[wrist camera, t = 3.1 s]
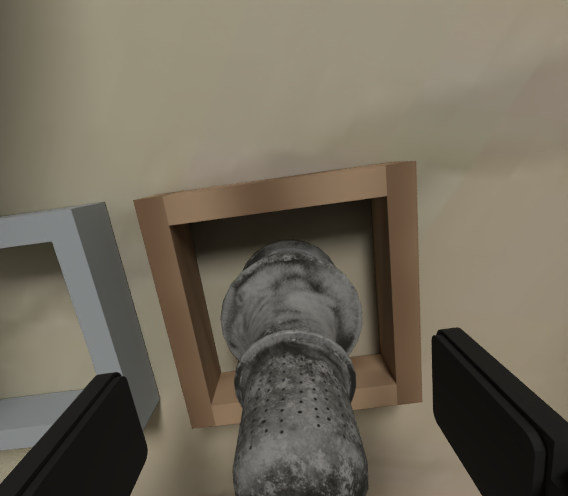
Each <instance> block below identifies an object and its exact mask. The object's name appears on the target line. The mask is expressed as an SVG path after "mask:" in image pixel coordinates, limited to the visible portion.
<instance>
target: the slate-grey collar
mask: <svg viewBox="0 0 568 496" xmlns="http://www.w3.org/2000/svg"><path fill="white" fill-rule="evenodd" d="M51 241H52V243H53V246H54V249H55V252H56V255H57V258H58V261H59V264H60V267H61V270H62V273H63V276H64V279H65V282H66V285H67V288H68V291H69V294H70V297H71V300H72V303H73V306H74V309H75V312H76V315H77V317H78V320H79V323H80V326H81V329H82V332H83V335H84V338H85V341H86V344H87V347H88V350H89V353H90V356H91V359H92V362H93V365H94V368H95V371H96V374H97V375H99V374H105V373H113V372H119V373H120V374H121V375H122V376H125V377H126V378H127V380H128V384H129V387H130V390H131V394H132V397H133V400H134V404H135V407H136V410H137V414H138V417H139V421H140V424H141V427H142V431H143V430H144V428H145V426H146V424H147V422H148V420H149V418H150V417H151V415H152V413H153V411H154V409H155V407H156V405H157V403H158V401H159V399H160V397H159V393H158V390H157V386H156V382H155V379H154V375H153V372H152V368H151V365H150V361H149V358H148V354H147V351H146V347H145V344H144V340H143V336H142V333H141V329H140V326H139V322H138V319H137V315H136V312H135V308H134V305H133V301H132V298H131V294H130V290H129V287H128V283H127V280H126V276H125V273H124V269H123V266H122V262H121V259H120V255H119V252H118V248H117V244H116V241H115V237H114V234H113V230H112V227H111V223H110V220H109V216H108V213H107V209H106V206H105V202H101V203H93V204H86V205H79V206H72V207H64V208H57V209H50V210H43V211H36V212H28V213H21V214H14V215H7V216H0V248H7V247H14V246H22V245H29V244H36V243H44V242H51ZM83 390H84V389H82V390H74V391H66V392H57V393H49V394H41V395H32V396H24V397H16V398H7V399H0V451H1V450H10V449H19V448H27V447H33V446H34V445H35V444H36V443H37V442H38V441H39V440H40V438H41V437H42V436H43V435H44V434H45V433H46V432H47V431H48V429H49V428H50V427H51V426H52V425H53V424H54V423H55V421H56V420H57V419H58V418H59V417H60V416H61V415H62V414H63V412H64V411H65V410H66V409H67V408H68V407H69V406H70V404H71V403H72V402H73V401H74V400H75V399H76V398H77V396H78V395H79V394H80V393H81V392H82V391H83Z"/></svg>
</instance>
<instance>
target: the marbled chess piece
mask: <svg viewBox="0 0 568 496" xmlns="http://www.w3.org/2000/svg"><path fill="white" fill-rule="evenodd" d="M221 325H222V332H223V336H224V338H225V341H226V343H227V345H228V347H229V350H230V351H231V352H232V353H233V355H234V356H235V357H236V358H237V359H238V361H239V363H238V365H237V367H236V373H235V378H234V387H235V394H236V397H237V399H238V401H239V403H240V405H241V407H242V415H241V422H240V428H239V434H238V440H237V446H236V452H235V458H234V464H233V482H234V489H235V496H366V494H367V491H368V464H367V458H366V455H365V451H364V448H363V444H362V441H361V437H360V434H359V430H358V427H357V423H356V420H355V416H354V413H353V409H352V406H351V402H352V400H353V397H354V394H355V390H356V372H355V370H354V367H353V364H352V361H351V359H350V357H349V355H350V353H351V351H352V350H353V348H354V346H355V345H356V343H357V342H358V338H359V335H360V331H361V328H362V307H361V303H360V300H359V297H358V294H357V291H356V290H355V288H354V287H353V285H352V284H351V282H350V281H349V279H348V278H347V276H346V275H345V274H343V273H342V272H341V271H340V270H339V269H337V268H336V267H335V265H334V264H333V262H332V261H331V259H330V258H329V256H328V255H326V254H325V253H324V252H323V251H322V250H320V249H319V248H318V247H316V246H313V245H311V244H309V243H307V242H303V241H297V240H283V241H277V242H274V243H271V244H268V245H266V246H264V247H263V248H261V249H260V250H258V251H257V252H255V253H254V255H253V256H252V257H251V258H250V259H249V260H248V261H247V263H246V265H245V267H244V269H243V271H242V272H241V274H240V275H239V276H238V277H237V278H236V279H235V280H234V282H233V283H232V284H231V285H230V288H229V290H228V292H227V294H226V296H225V298H224V300H223V305H222V312H221Z"/></svg>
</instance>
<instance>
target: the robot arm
mask: <svg viewBox="0 0 568 496" xmlns="http://www.w3.org/2000/svg"><path fill="white" fill-rule="evenodd" d="M432 382H433V413H434V417H435V420H436V422H437V424H438V426H439V427H440V429H441V430H442V432H443V434H444V435H445V437H446V438H447V440H448V442H449V443H450V445H451V446H452V448H453V450H454V451H455V453H456V454H457V456H458V458H459V459H460V461H461V462H462V464H463V466H464V467H465V469H466V470H467V472H468V474H469V475H470V477H471V478H472V480H473V482H474V483H475V485H476V486H477V488H478V490H479V491H480V493H481V494H482V496H568V422H567V421H566V420H565V419H563V418H562V417H561V416H560V415H559V414H558V413H557V412H555V411H554V410H553V409H552V408H551V407H550V406H549V405H547V404H546V403H545V402H544V401H543V400H542V399H541V398H539V397H538V396H537V395H536V394H535V393H534V392H533V391H531V390H530V389H529V388H528V387H527V386H526V385H525V384H523V383H522V382H521V381H520V380H519V379H518V378H517V377H515V376H514V375H513V374H512V373H511V372H510V371H509V370H507V369H506V368H505V367H504V366H503V365H502V364H501V363H499V362H498V361H497V360H496V359H495V358H494V357H493V356H491V355H490V354H489V353H488V352H487V351H486V350H485V349H483V348H482V347H481V346H480V345H479V344H478V343H477V342H475V341H474V340H473V339H472V338H471V337H470V336H469V335H467V334H466V333H465V332H464V331H463V330H462V329H460V328H449V329H441V330H438V331H437V335H434V336H432ZM147 452H148V449H147V444H146V441H145V437H144V434H143V431H142V427H141V424H140V421H139V417H138V414H137V410H136V407H135V404H134V400H133V397H132V394H131V390H130V387H129V384H128V380H127V378H126V377H125V376H122V375H121V374H120V373H119V372H113V373H105V374H99V375H97V376H95V377H94V378H93V379H92V381H91V382H90V383H89V384H88V385H87V386H86V387H85V389H84V390H83V391H82V392H81V393H80V394H79V395H78V396H77V398H76V399H75V400H74V401H73V402H72V403H71V404H70V406H69V407H68V408H67V409H66V410H65V411H64V412H63V414H62V415H61V416H60V417H59V418H58V419H57V420H56V421H55V423H54V424H53V425H52V426H51V427H50V428H49V429H48V431H47V432H46V433H45V434H44V435H43V436H42V437H41V438H40V440H39V441H38V442H37V443H36V444H35V445H34V446H33V448H32V449H31V450H30V451H29V452H28V453H27V454H26V456H25V457H24V458H23V459H22V460H21V461H20V462H19V463H18V465H17V466H16V467H15V468H14V469H13V470H12V471H11V473H10V474H9V475H8V476H7V477H6V478H5V479H4V481H3V482H2V483H1V484H0V496H130V495H131V492H132V490H133V488H134V486H135V484H136V481H137V479H138V477H139V475H140V473H141V470H142V468H143V466H144V464H145V461H146V459H147Z"/></svg>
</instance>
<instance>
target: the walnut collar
mask: <svg viewBox="0 0 568 496" xmlns="http://www.w3.org/2000/svg"><path fill="white" fill-rule="evenodd" d="M368 198H371V208H372V223H373V239H374V255H375V271H376V287H377V303H378V318H379V334H380V350H381V354H374V355H365V356H357V357H350V359H351V361H352V364H353V367H354V370H355V372H356V390H355V394H354V397H353V400H352V402H351V406H352V409H353V410H358V409H367V408H376V407H384V406H393V405H402V404H410V403H419V402H422V373H421V334H420V294H419V255H418V215H417V175H416V161H406V162H389V163H381V164H374V165H367V166H360V167H353V168H345V169H338V170H331V171H324V172H317V173H309V174H302V175H295V176H288V177H281V178H273V179H266V180H259V181H252V182H245V183H237V184H230V185H223V186H216V187H209V188H201V189H194V190H187V191H180V192H173V193H165V194H158V195H154V196H150V197H145V198H141V199H137V200H133V202H134V206H135V209H136V213H137V217H138V221H139V225H140V229H141V233H142V236H143V240H144V244H145V248H146V252H147V256H148V260H149V264H150V267H151V271H152V275H153V279H154V283H155V287H156V291H157V294H158V298H159V302H160V306H161V310H162V314H163V318H164V322H165V325H166V329H167V333H168V337H169V341H170V345H171V349H172V352H173V356H174V360H175V364H176V368H177V372H178V376H179V380H180V383H181V387H182V391H183V395H184V399H185V403H186V407H187V410H188V414H189V418H190V422H191V426H192V429H193V428H201V427H210V426H219V425H228V424H236V423H240V422H241V415H242V407H241V405H240V403H239V401H238V399H237V397H236V394H235V387H234V378H235V373H236V371H232V372H224V373H221V371H220V366H219V361H218V357H217V352H216V348H215V343H214V338H213V334H212V329H211V325H210V320H209V315H208V311H207V306H206V302H205V297H204V292H203V288H202V283H201V279H200V274H199V269H198V265H197V260H196V256H195V251H194V246H193V242H192V237H191V233H190V228H189V223H191V222H199V221H206V220H213V219H221V218H228V217H236V216H243V215H250V214H258V213H265V212H273V211H280V210H287V209H295V208H302V207H309V206H317V205H324V204H332V203H339V202H346V201H354V200H361V199H368Z"/></svg>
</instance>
